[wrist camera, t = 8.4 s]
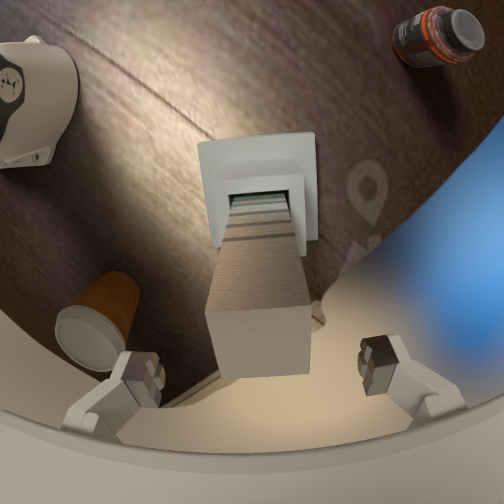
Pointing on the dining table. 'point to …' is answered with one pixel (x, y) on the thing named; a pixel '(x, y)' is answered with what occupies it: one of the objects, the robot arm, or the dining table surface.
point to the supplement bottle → (438, 37)
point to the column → (260, 292)
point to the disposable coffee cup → (99, 322)
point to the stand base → (261, 178)
